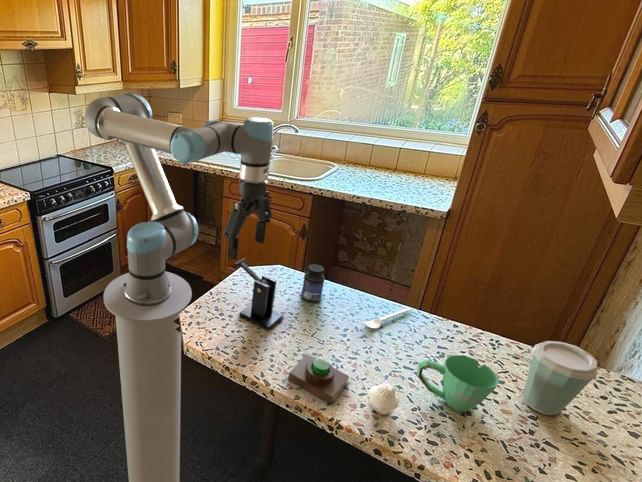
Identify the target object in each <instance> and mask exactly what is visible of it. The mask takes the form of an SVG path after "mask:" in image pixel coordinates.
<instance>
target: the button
mask: <svg viewBox="0 0 642 482" xmlns="http://www.w3.org/2000/svg"><path fill="white" fill-rule="evenodd" d="M316 359H317V360H315V361H314V362H313V367H312V369H313V371H314V372H315V373H317V374H318V375H326V374H327V373H328V370H329V364H328V363H329V362H328V361H326V360H324V359H321V358H316ZM327 362H328V363H327Z"/></svg>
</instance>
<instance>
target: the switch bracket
mask: <svg viewBox="0 0 642 482" xmlns="http://www.w3.org/2000/svg"><path fill="white" fill-rule="evenodd" d="M260 279H261V280H262V281H263V280H264V279H266V280H267V281H268V282H269V283H270V284H271V285H272V287H271V288H270V289H269V286H268V285H266V284H263V283H261V282H259V281H257V280H256V281H255V280H254V281H253V289H252V297H251V303H250V304H249V305H248V306H247V307H245V308H244V309H242V310H241V311H240V312H239V316H240V317H241V318H244V319H245V320H247V321H249V322H251V323H252V324H255V325H257V326H258V327H260V328H262V329H264V330H266V331H270V330H271V328H273V327H274V326H275V325H277V324H278V322H280V321H281V320H282V319H283V318H284V317H283V316H284V315H283V314H282V313H281V312H278V311H276V310H274V302H275V295H276V287H277V280H276V279H275V278H272V277H270V276H267V275H265V274H263V275H262V276H261V278H260Z"/></svg>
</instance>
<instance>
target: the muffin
mask: <svg viewBox="0 0 642 482" xmlns="http://www.w3.org/2000/svg"><path fill="white" fill-rule="evenodd" d="M368 399H369V402H370V405H371V407H372V409H373V411H374V412H376V413H377V414H379V415H388V414H390V413H391V412H393V411H395V410H396V409H397V408H398V406H399V404H400V399H399V396H398V394H397V393H396V391H395V388H394V387H393V386H392V385H390V384H389V383H384V382H382V383H378V385H374V386H372V387H370V389H369V390H368Z"/></svg>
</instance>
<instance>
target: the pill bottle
mask: <svg viewBox="0 0 642 482" xmlns="http://www.w3.org/2000/svg"><path fill="white" fill-rule="evenodd" d="M324 270H325V268H324V267H323V266H322V265H319V264H313V263H312V264H309V265H308V267H307V271H306V272H305V273H304V277H303V281H302V287H301V293H300V294H301V295H300V296H301V297H302V299H303V300H305V301H307V302H310V303H318V302H319V301H321V299H322V294H323V289H324V284H325V275H324Z"/></svg>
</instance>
